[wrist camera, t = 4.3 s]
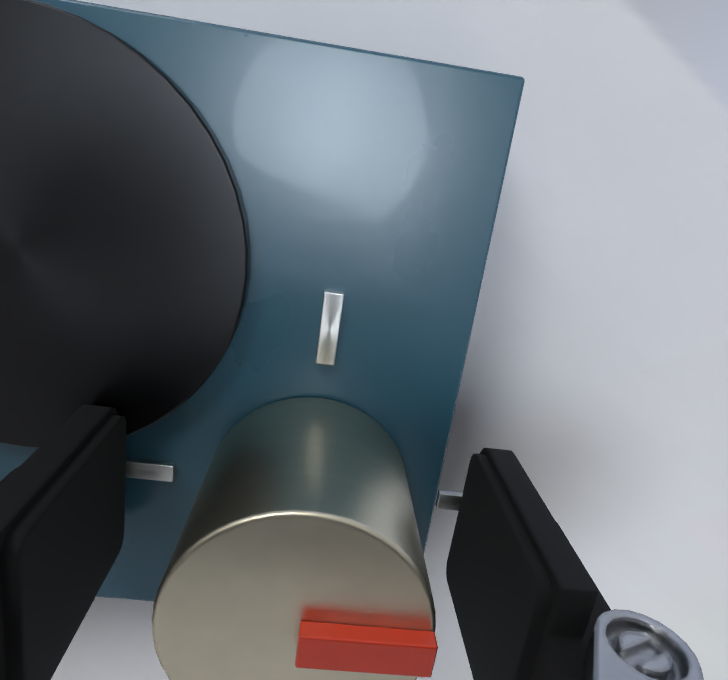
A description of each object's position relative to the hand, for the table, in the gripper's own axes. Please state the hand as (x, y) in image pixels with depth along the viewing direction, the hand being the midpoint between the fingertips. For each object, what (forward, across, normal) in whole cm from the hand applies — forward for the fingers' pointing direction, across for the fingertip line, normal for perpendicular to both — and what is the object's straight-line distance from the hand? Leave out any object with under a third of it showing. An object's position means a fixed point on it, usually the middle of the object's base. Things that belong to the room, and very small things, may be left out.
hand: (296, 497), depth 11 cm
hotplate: (+1, +5, -4) cm, 7 cm away
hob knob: (0, 0, 0) cm, 0 cm away
